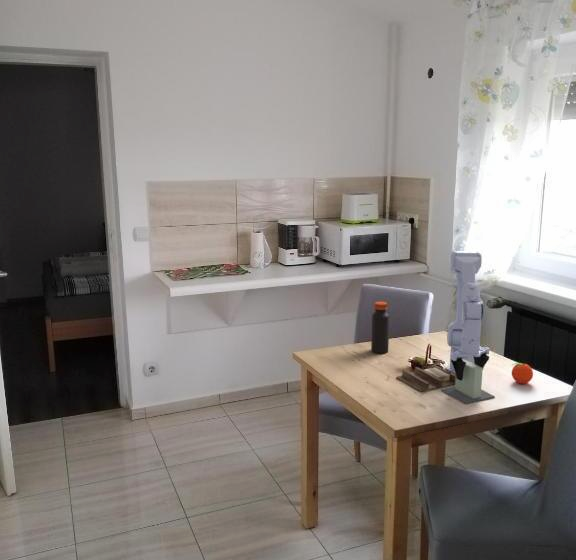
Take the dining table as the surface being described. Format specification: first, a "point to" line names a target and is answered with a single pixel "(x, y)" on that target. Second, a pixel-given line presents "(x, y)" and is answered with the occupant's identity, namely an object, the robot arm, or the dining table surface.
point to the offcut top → (437, 373)
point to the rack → (425, 379)
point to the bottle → (380, 329)
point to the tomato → (522, 373)
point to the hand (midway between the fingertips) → (468, 377)
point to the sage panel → (470, 380)
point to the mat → (464, 397)
